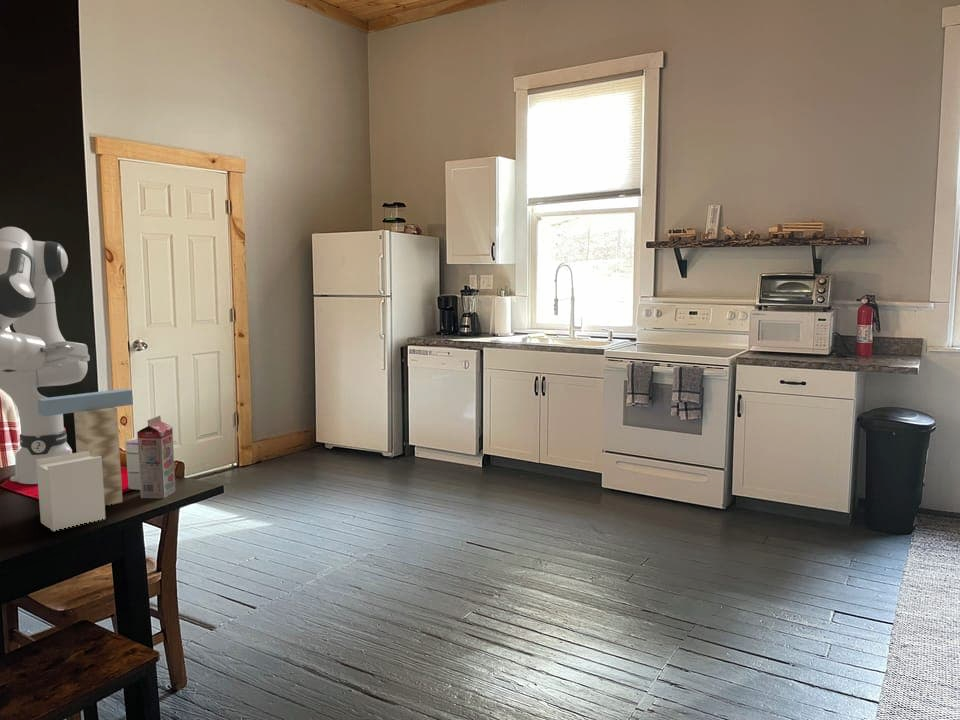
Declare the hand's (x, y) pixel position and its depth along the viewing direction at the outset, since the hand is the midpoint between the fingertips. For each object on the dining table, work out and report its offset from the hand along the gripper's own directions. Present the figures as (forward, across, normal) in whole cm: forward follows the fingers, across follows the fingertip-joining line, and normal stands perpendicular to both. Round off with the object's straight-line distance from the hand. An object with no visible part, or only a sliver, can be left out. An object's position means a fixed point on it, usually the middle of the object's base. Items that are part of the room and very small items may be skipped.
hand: (72, 361), depth 190 cm
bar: (+6, +1, +12) cm, 13 cm away
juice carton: (+25, -4, +36) cm, 43 cm away
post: (+15, +6, +36) cm, 39 cm away
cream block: (+1, +2, +41) cm, 41 cm away
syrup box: (+29, +5, +32) cm, 44 cm away
